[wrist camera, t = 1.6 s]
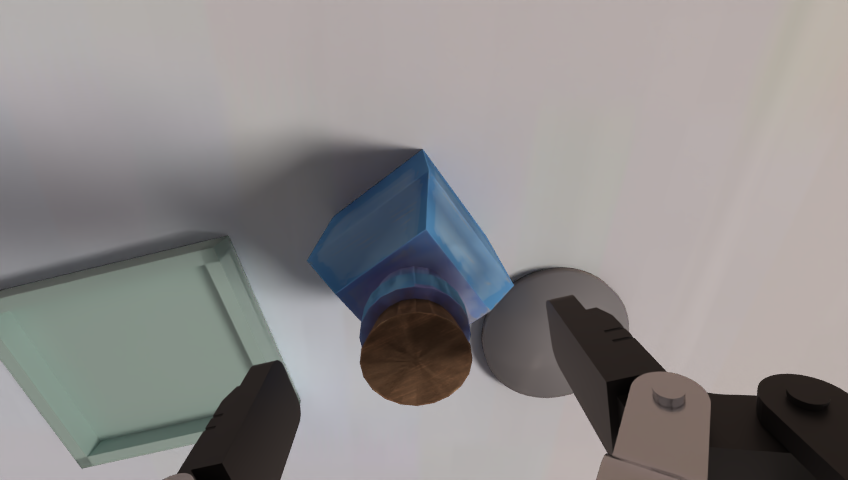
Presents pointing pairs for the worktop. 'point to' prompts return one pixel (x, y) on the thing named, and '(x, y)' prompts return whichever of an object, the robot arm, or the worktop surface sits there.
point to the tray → (135, 348)
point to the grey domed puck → (539, 328)
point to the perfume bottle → (412, 281)
